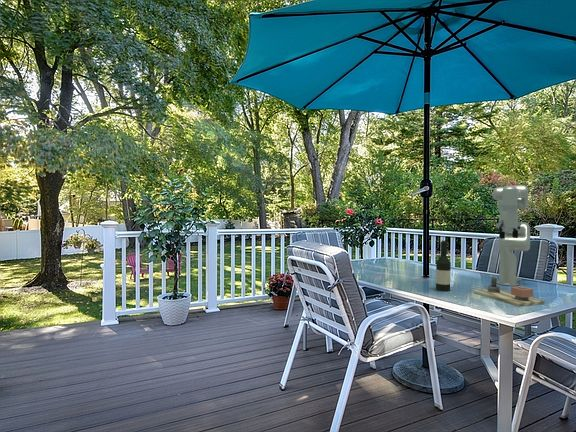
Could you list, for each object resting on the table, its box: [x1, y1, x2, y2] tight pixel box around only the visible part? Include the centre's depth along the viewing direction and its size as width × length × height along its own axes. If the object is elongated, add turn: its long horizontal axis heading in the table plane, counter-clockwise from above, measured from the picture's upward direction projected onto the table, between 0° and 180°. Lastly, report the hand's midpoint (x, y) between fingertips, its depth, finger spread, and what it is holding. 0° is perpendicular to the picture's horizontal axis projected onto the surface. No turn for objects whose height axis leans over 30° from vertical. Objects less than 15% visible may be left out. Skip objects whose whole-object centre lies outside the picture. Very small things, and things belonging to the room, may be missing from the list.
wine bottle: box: [435, 240, 452, 293], centre depth 222 cm, size 8×8×30 cm
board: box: [472, 277, 546, 307], centre depth 204 cm, size 18×30×10 cm, turn 17°
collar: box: [510, 285, 534, 298], centre depth 195 cm, size 7×7×4 cm
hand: (508, 238), depth 213 cm, fingers open, 9 cm apart
